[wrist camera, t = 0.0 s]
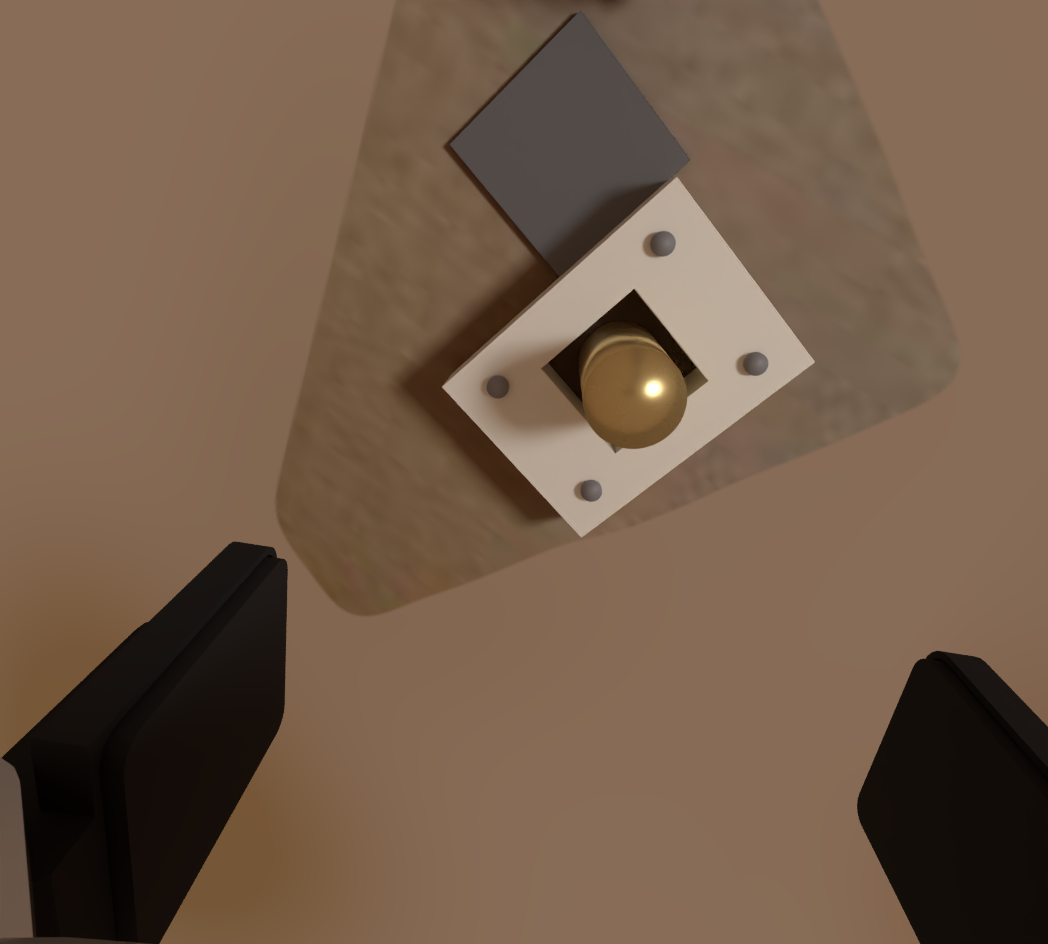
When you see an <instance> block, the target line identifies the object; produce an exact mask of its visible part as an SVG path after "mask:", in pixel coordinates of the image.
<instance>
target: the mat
mask: <svg viewBox="0 0 1048 944" xmlns="http://www.w3.org/2000/svg"><path fill="white" fill-rule="evenodd" d="M450 146H451V147H452V148H453V149H454V151H455V152H456V153H457V154H458V155H459V157H460V158H461V159H462V160H463V161H464V163H465V164H466V165H467V166H468V167H469V169H470V170H471V171H472V172H473V173H474V175H475V176H476V177H477V178H478V179H479V181H480V182H481V183H482V184H483V186H484V187H485V188H486V189H487V190H488V192H489V193H490V194H491V195H492V196H493V198H494V199H495V200H496V201H497V202H498V204H499V205H500V206H501V207H502V208H503V210H504V211H505V212H506V213H507V214H508V216H509V217H510V218H511V219H512V220H513V222H514V223H515V224H516V225H517V226H518V228H519V229H520V230H521V231H522V233H523V234H524V235H525V236H526V237H527V239H528V240H529V241H530V242H531V243H532V245H533V246H534V247H535V248H536V249H537V251H538V252H539V253H540V254H541V255H542V257H543V258H544V259H545V260H546V261H547V263H548V264H549V265H550V266H551V267H552V269H553V270H554V271H555V272H556V273H557V275H558V276H559V277H560V276H562V275H563V274H564V273H565V272H566V271H567V270H568V269H569V268H571V267H572V266H573V265H574V264H575V263H576V262H577V261H578V260H579V259H581V258H582V257H583V256H584V255H585V254H586V253H587V252H588V251H589V250H591V249H592V248H593V247H594V246H595V245H596V244H597V243H598V242H600V241H601V240H602V239H603V238H604V237H605V236H606V235H607V234H608V233H610V232H611V231H612V230H613V229H614V228H615V227H616V226H617V225H618V224H620V223H621V222H622V221H623V220H624V219H625V218H626V217H627V216H629V215H630V214H631V213H632V212H633V211H634V210H635V209H636V208H637V207H639V206H640V205H641V204H642V203H643V202H644V201H645V200H646V199H647V198H649V197H650V196H651V195H652V194H653V193H654V192H655V191H656V190H658V189H659V188H660V187H661V186H662V185H663V184H664V183H665V182H666V181H668V180H669V179H670V178H671V177H672V176H673V175H674V174H675V173H676V172H678V171H679V170H680V169H681V168H682V167H683V166H684V165H685V164H687V163H688V162H689V161H690V159H689V157H688V156H687V154H686V153H685V152H684V150H683V149H682V148H681V146H680V145H679V144H678V142H677V141H676V139H675V138H674V137H673V135H672V134H671V133H670V131H669V130H668V129H667V127H666V126H665V125H664V123H663V122H662V120H661V119H660V118H659V116H658V115H657V114H656V112H655V111H654V110H653V108H652V107H651V105H650V104H649V103H648V101H647V100H646V99H645V97H644V96H643V95H642V93H641V92H640V91H639V89H638V88H637V86H636V85H635V84H634V82H633V81H632V80H631V78H630V77H629V76H628V74H627V73H626V71H625V70H624V69H623V67H622V66H621V65H620V63H619V62H618V61H617V59H616V58H615V56H614V55H613V54H612V52H611V51H610V50H609V48H608V47H607V46H606V44H605V43H604V42H603V40H602V39H601V37H600V36H599V35H598V33H597V32H596V31H595V29H594V28H593V27H592V25H591V24H590V22H589V21H588V20H587V18H586V17H585V16H584V14H583V13H582V12H581V10H580V11H579V12H578V13H577V14H576V15H575V16H574V17H573V18H572V19H571V20H570V22H569V23H568V24H567V25H566V26H565V27H564V28H563V29H562V30H561V31H560V32H559V33H558V34H557V35H556V36H555V37H554V38H553V39H552V40H551V41H550V42H549V43H548V44H547V45H546V46H545V47H544V48H543V49H542V50H541V51H540V52H539V53H538V54H537V55H536V56H535V57H534V58H533V59H532V60H531V62H530V63H529V64H528V65H527V66H526V67H525V68H524V69H523V70H522V71H521V72H520V73H519V74H518V75H517V76H516V77H515V78H514V79H513V80H512V81H511V82H510V83H509V84H508V85H507V86H506V87H505V88H504V89H503V90H502V91H501V92H500V93H499V94H498V95H497V96H496V97H495V98H494V99H493V100H492V102H491V103H490V104H489V105H488V106H487V107H486V108H485V109H484V110H483V111H482V112H481V113H480V114H479V115H478V116H477V117H476V118H475V119H474V120H473V121H472V122H471V123H470V124H469V125H468V126H467V127H466V128H465V129H464V130H463V131H462V132H461V133H460V134H459V135H458V136H457V137H456V138H455V139H454V140H453V142H452V143H451V144H450Z"/></svg>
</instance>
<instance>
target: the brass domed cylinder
mask: <svg viewBox="0 0 1048 944" xmlns="http://www.w3.org/2000/svg"><path fill="white" fill-rule="evenodd" d="M578 365H579V374H580V383H581V391H582V400H583V408H584V413H585V416H586V419H587V421H588V423H589V425H590V427H591V428H592V429H593V431H594V432H595V433H596V434H597V435H598V436H599V437H600V438H602V439H603V440H604V441H606V442H608V443H609V444H612V445H614V446H617V447H620V448H626V449H640V448H645V447H649V446H652V445H655V444H657V443H659V442H661V441H662V440H664V439H665V438H667V437H668V436H669V435H670V434H671V433H672V432H673V431H674V430H675V429H676V427H677V426H678V425H679V423H680V421H681V420H682V418H683V415H684V413H685V410H686V405H687V388H686V383H685V380H684V377H683V376H682V374H681V372H680V370H679V369H678V367H677V366H676V365H675V363H674V362H673V361H672V360H671V358H670V357H669V356H668V355H667V354H666V352H665V351H664V350H663V349H662V347H661V346H660V345H659V344H658V342H657V341H656V340H655V339H654V337H653V336H652V335H651V334H650V333H649V332H648V331H647V330H646V329H645V328H643V327H642V326H640V325H638V324H636V323H633V322H629V321H613V322H609V323H606V324H604V325H602V326H600V327H598V328H597V329H595V330H594V331H593V332H592V333H591V334H590V335H589V336H588V337H587V338H586V340H585V341H584V343H583V345H582V347H581V350H580V353H579V360H578Z"/></svg>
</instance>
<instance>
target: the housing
mask: <svg viewBox="0 0 1048 944" xmlns="http://www.w3.org/2000/svg"><path fill="white" fill-rule="evenodd" d="M633 289H634V291H635V292H636V293H637V294H638V296H639V297H640V298H641V299H642V301H643V302H644V303H645V304H646V306H647V307H648V308H649V309H650V311H651V312H652V313H653V314H654V316H655V317H656V318H657V319H658V321H659V322H660V323H661V324H662V325H663V327H664V328H665V329H666V330H667V332H668V333H669V334H670V335H671V337H672V338H673V339H674V340H675V342H676V343H677V344H678V345H679V347H680V348H681V349H682V350H683V352H684V353H685V354H686V355H687V357H688V358H689V359H690V360H691V362H692V363H693V364H694V365H695V367H696V368H695V369H694V370H693V371H692V372H690V373H689V374H688V375H687V376H685V377H684V380H685V383H686V388H687V405H686V410H685V413H684V415H683V418H682V420H681V421H680V423H679V425H678V426H677V427H676V429H675V430H674V431H673V432H672V433H671V434H670V435H669V436H668V437H667V438H665V439H664V440H662V441H661V442H659V443H657V444H655V445H652V446H649V447H645V448H640V449H626V448H620V447H617V446H614V445H612V444H609V443H608V442H606V441H604V440H603V439H602V438H600V437H599V436H598V435H597V434H596V433H595V432H594V431H593V429H592V428H591V427H590V425H589V423H588V421H587V419H586V416H585V413H584V408H583V403H582V401H581V400H580V399H579V398H578V397H577V396H576V395H575V393H574V392H573V391H572V390H571V389H570V388H569V386H568V385H567V384H566V383H565V382H564V381H563V380H562V378H561V377H560V376H559V375H558V374H557V373H556V371H555V370H554V369H553V368H552V367H551V366H550V365H549V363H548V362H549V361H550V360H552V359H553V358H554V357H555V356H556V355H557V354H559V353H560V352H561V351H562V350H563V349H564V348H566V347H567V346H568V345H569V344H570V343H571V342H573V341H574V340H575V339H576V338H577V337H578V336H580V335H581V334H582V333H583V332H584V331H585V330H587V329H588V328H589V327H590V326H591V325H592V324H594V323H595V322H596V321H597V320H598V319H599V318H601V317H602V316H603V315H604V314H605V313H606V312H608V311H609V310H610V309H611V308H612V307H613V306H615V305H616V304H617V303H618V302H619V301H620V300H622V299H623V298H624V297H625V296H626V295H627V294H629V293H630V292H631V291H632V290H633ZM814 362H815V361H814V360H813V359H812V357H811V356H810V355H809V353H808V352H807V351H806V349H805V348H804V347H803V345H802V344H801V343H800V341H799V340H798V339H797V337H796V336H795V335H794V333H793V332H792V331H791V329H790V328H789V327H788V325H787V324H786V323H785V321H784V320H783V319H782V317H781V316H780V314H779V313H778V312H777V310H776V309H775V308H774V306H773V305H772V304H771V302H770V301H769V300H768V298H767V297H766V296H765V294H764V293H763V292H762V290H761V289H760V288H759V286H758V285H757V284H756V282H755V281H754V280H753V278H752V277H751V276H750V274H749V273H748V272H747V270H746V269H745V268H744V266H743V265H742V264H741V262H740V261H739V260H738V258H737V257H736V255H735V254H734V253H733V251H732V250H731V249H730V247H729V246H728V245H727V243H726V242H725V241H724V239H723V238H722V237H721V235H720V234H719V233H718V231H717V230H716V229H715V227H714V226H713V225H712V223H711V222H710V221H709V219H708V218H707V217H706V215H705V214H704V213H703V211H702V210H701V209H700V207H699V206H698V205H697V203H696V202H695V201H694V199H693V198H692V196H691V195H690V194H689V192H688V191H687V190H686V188H685V187H684V186H683V184H682V183H681V182H680V180H679V179H678V178H677V177H675V178H673V179H670V180H668V181H666V182H665V183H664V184H663V185H662V186H661V187H660V188H659V189H658V190H656V191H655V192H654V193H653V194H652V195H651V196H650V197H649V198H647V199H646V200H645V201H644V202H643V203H642V204H641V205H640V206H639V207H637V208H636V209H635V210H634V211H633V212H632V213H631V214H630V215H629V216H627V217H626V218H625V219H624V220H623V221H622V222H621V223H620V224H618V225H617V226H616V227H615V228H614V229H613V230H612V231H611V232H610V233H608V234H607V235H606V236H605V237H604V238H603V239H602V240H601V241H600V242H598V243H597V244H596V245H595V246H594V247H593V248H592V249H591V250H589V251H588V252H587V253H586V254H585V255H584V256H583V257H582V258H581V259H579V260H578V261H577V262H576V263H575V264H574V265H573V266H572V267H571V268H569V269H568V270H567V271H566V272H565V273H564V274H563V275H562V276H560V277H559V278H558V279H557V280H555V281H554V282H553V283H552V284H551V285H550V286H549V287H548V288H547V289H545V290H544V291H543V292H542V293H541V294H540V295H539V296H538V297H536V298H535V299H534V300H533V301H532V302H531V303H530V304H529V305H528V306H526V307H525V308H524V309H523V310H522V311H521V312H520V313H519V314H518V315H516V316H515V317H514V318H513V319H512V320H511V321H510V322H509V323H508V324H506V325H505V326H504V327H503V328H502V329H501V330H500V331H499V332H497V333H496V334H495V335H494V336H493V337H492V338H491V339H490V340H489V341H487V342H486V343H485V344H484V345H483V346H482V347H481V348H480V349H479V350H477V351H476V352H475V353H474V354H473V355H472V356H471V357H470V358H468V359H467V360H466V361H465V362H464V363H463V364H462V365H461V366H460V367H458V368H457V369H456V370H455V371H454V372H453V373H452V374H451V375H450V377H449V378H448V379H447V381H446V382H445V383H444V385H443V386H442V388H443V389H444V390H445V391H446V392H447V393H448V394H449V395H450V396H451V397H452V398H453V400H454V401H455V402H456V403H457V404H458V405H459V406H460V407H461V408H462V409H463V410H464V411H465V413H466V414H467V415H468V416H469V417H470V418H471V419H472V420H473V421H474V422H475V423H476V424H477V425H478V427H479V428H480V429H481V430H482V431H483V432H484V433H485V434H486V435H487V436H488V437H489V438H490V440H491V441H492V442H493V443H494V444H495V445H496V446H497V447H498V448H499V449H500V450H501V451H502V452H503V454H504V455H505V456H506V457H507V458H508V459H509V460H510V461H511V462H512V463H513V464H514V465H515V467H516V468H517V469H518V470H519V471H520V472H521V473H522V474H523V475H524V476H525V477H526V478H527V479H528V481H529V482H530V483H531V484H532V485H533V486H534V487H535V488H536V489H537V490H538V491H539V492H540V494H541V495H542V496H543V497H544V498H545V499H546V500H547V501H548V502H549V503H550V504H551V505H552V506H553V508H554V509H555V510H556V511H557V512H558V513H559V514H560V515H561V516H562V517H563V518H564V519H565V521H566V522H567V523H568V524H569V525H570V526H571V527H572V528H573V529H574V530H575V531H576V532H577V533H578V535H579V536H580V537H583V536H584V535H585V534H587V533H588V532H589V531H591V530H592V529H593V528H595V527H596V526H597V525H599V524H600V523H601V522H603V521H604V520H605V519H607V518H608V517H609V516H611V515H612V514H613V513H615V512H616V511H617V510H619V509H620V508H621V507H623V506H624V505H625V504H627V503H628V502H629V501H631V500H632V499H633V498H635V497H636V496H637V495H639V494H640V493H641V492H643V491H644V490H645V489H647V488H648V487H649V486H651V485H652V484H653V483H655V482H656V481H657V480H659V479H660V478H661V477H663V476H664V475H665V474H667V473H668V472H669V471H671V470H672V469H673V468H675V467H676V466H677V465H679V464H680V463H681V462H683V461H684V460H685V459H687V458H688V457H689V456H691V455H692V454H693V453H695V452H696V451H697V450H699V449H700V448H701V447H703V446H704V445H705V444H707V443H708V442H709V441H711V440H712V439H713V438H715V437H716V436H717V435H719V434H720V433H721V432H723V431H724V430H725V429H727V428H728V427H729V426H731V425H732V424H733V423H735V422H736V421H737V420H739V419H740V418H741V417H743V416H744V415H745V414H747V413H748V412H749V411H751V410H752V409H753V408H755V407H756V406H757V405H759V404H760V403H761V402H763V401H764V400H765V399H767V398H768V397H769V396H771V395H772V394H773V393H775V392H776V391H777V390H779V389H780V388H781V387H783V386H784V385H785V384H787V383H788V382H789V381H790V380H792V379H793V378H794V377H796V376H797V375H798V374H800V373H801V372H802V371H804V370H805V369H806V368H808V367H809V366H810V365H812V364H813V363H814Z"/></svg>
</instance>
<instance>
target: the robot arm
mask: <svg viewBox="0 0 1048 944" xmlns="http://www.w3.org/2000/svg"><path fill="white" fill-rule="evenodd" d="M287 571H288V569H287V562H286V560H285V559H280V558H277V555H276V551H275V549H274V548H272V547H267V546H261V545H254V544H248V543H241V542H232V543H231V544H229V545H228V546H227V547H226V548H225V549H224V550H223V551H222V552H221V553H220V554H219V555H217V557H215V559H213V560H212V562H210V563H209V564H208V565H207V566H206V567H205V568H204V569H203V570H202V571H201V572H200V573H199V574H198V575H197V576H196V577H195V578H194V579H193V580H192V581H191V582H190V583H188V584H187V585H186V586H185V587H184V589H182V590H181V591H180V592H179V593H178V594H177V595H176V596H175V597H174V598H173V599H172V600H171V601H170V602H169V603H168V604H167V605H166V606H165V607H164V608H163V609H162V610H160V612H158V613H157V614H156V615H155V616H154V617H153V618H152V619H151V620H150V621H149V622H146V623H144V624H143V625H141V626H140V627H139V628H137V629H136V630H135V631H134V632H133V633H132V634H131V635H130V636H129V637H128V638H127V639H125V640H124V641H123V642H122V643H121V644H120V645H119V646H118V647H117V648H116V649H115V650H114V651H113V652H112V653H111V654H110V655H109V656H108V657H107V658H106V659H105V660H104V661H102V662H101V663H100V664H99V665H98V666H97V667H96V668H95V669H94V670H93V671H92V672H91V673H90V674H89V675H88V676H87V677H86V678H85V679H84V680H83V681H82V682H80V683H79V684H78V685H77V686H76V687H75V688H74V689H73V690H72V691H71V692H70V693H69V694H68V695H67V696H66V697H65V698H64V699H63V700H62V701H61V702H60V703H58V704H57V705H56V706H55V707H54V708H53V709H52V710H51V711H50V712H49V713H48V714H47V715H46V716H45V717H44V718H43V719H42V720H41V721H40V722H39V723H37V725H35V726H34V727H33V728H32V729H31V730H30V731H29V732H28V733H27V734H26V735H25V736H24V737H23V738H22V739H21V740H20V741H19V742H18V743H17V744H15V745H14V746H13V747H12V748H11V749H10V750H9V751H8V752H7V753H6V754H5V755H4V756H3V757H2V758H0V944H159V943H160V941H161V940H162V938H163V936H164V934H165V932H166V931H167V929H168V927H169V925H170V923H171V922H172V920H173V918H174V916H175V914H176V913H177V911H178V909H179V907H180V905H181V904H182V902H183V900H184V898H185V897H186V895H187V893H188V891H189V890H190V888H191V886H192V884H193V882H194V881H195V879H196V877H197V875H198V873H199V872H200V870H201V868H202V866H203V864H204V862H205V861H206V859H207V857H208V856H209V854H210V852H211V850H212V848H213V847H214V845H215V843H216V841H217V839H218V838H219V836H220V834H221V832H222V830H223V829H224V827H225V825H226V823H227V821H228V820H229V818H230V816H231V814H232V812H233V811H234V809H235V807H236V805H237V803H238V802H239V800H240V798H241V796H242V795H243V793H244V791H245V789H246V788H247V785H248V784H249V782H250V780H251V779H252V777H253V775H254V773H255V771H256V770H257V768H258V766H259V764H260V762H261V761H262V759H263V757H264V755H265V754H266V752H267V750H268V748H269V746H270V745H271V743H272V741H273V739H274V737H275V736H276V734H277V732H278V730H279V727H280V724H281V721H282V718H283V713H284V705H285V661H286V657H285V656H286V618H287V613H286V612H287V574H288V572H287ZM857 809H858V816H859V820H860V823H861V825H862V827H863V829H864V831H865V833H866V835H867V837H868V839H869V841H870V843H871V845H872V847H873V849H874V851H875V853H876V855H877V857H878V859H879V861H880V863H881V865H882V868H883V869H884V872H885V874H886V875H887V877H888V879H889V882H890V884H891V885H892V887H893V889H894V891H895V894H896V895H897V897H898V900H899V901H900V904H901V906H902V908H903V910H904V912H905V914H906V916H907V918H908V920H909V922H910V924H911V926H912V928H913V930H914V932H915V934H916V936H917V938H918V940H919V942H920V944H1048V727H1047V725H1046V724H1045V723H1044V722H1043V721H1041V719H1040V718H1039V717H1038V716H1037V715H1036V714H1035V713H1034V712H1033V711H1032V710H1031V709H1030V708H1029V707H1028V706H1027V705H1026V704H1025V703H1024V702H1023V701H1022V700H1021V699H1020V698H1019V696H1018V695H1017V694H1015V692H1014V691H1013V690H1012V689H1011V688H1010V687H1009V686H1008V685H1007V684H1006V683H1005V682H1004V681H1003V680H1002V679H1001V678H1000V677H999V676H998V675H997V674H996V673H995V672H994V670H992V669H991V667H990V666H989V665H987V663H986V662H984V661H983V660H982V659H980V658H978V657H974V656H968V655H961V654H955V653H948V652H941V651H935V652H932V653H931V654H929V655H928V656H927V657H926V659H920V660H919V661H917V662H916V663H915V665H914V667H913V669H912V671H911V674H910V676H909V678H908V681H907V683H906V686H905V688H904V690H903V692H902V695H901V697H900V699H899V702H898V704H897V707H896V709H895V711H894V714H893V716H892V718H891V721H890V723H889V725H888V728H887V730H886V732H885V735H884V737H883V739H882V742H881V744H880V746H879V749H878V751H877V754H876V756H875V758H874V761H873V763H872V766H871V768H870V770H869V772H868V775H867V777H866V779H865V782H864V784H863V786H862V789H861V791H860V794H859V797H858V803H857Z"/></svg>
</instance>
